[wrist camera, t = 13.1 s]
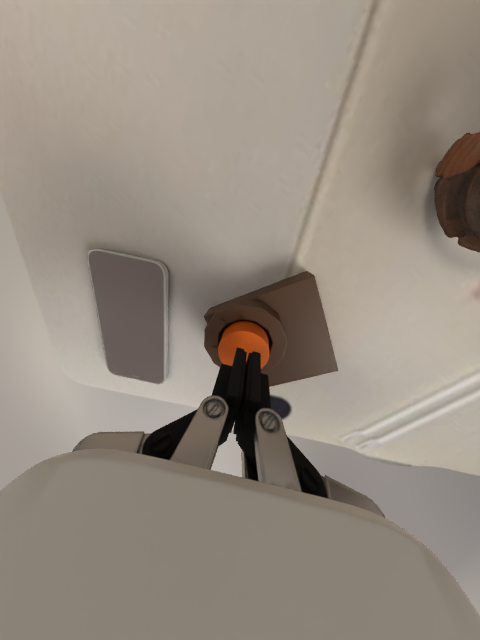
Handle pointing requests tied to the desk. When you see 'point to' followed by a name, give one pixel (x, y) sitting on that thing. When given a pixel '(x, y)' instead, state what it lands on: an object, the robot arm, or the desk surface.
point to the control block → (280, 328)
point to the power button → (243, 342)
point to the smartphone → (132, 313)
